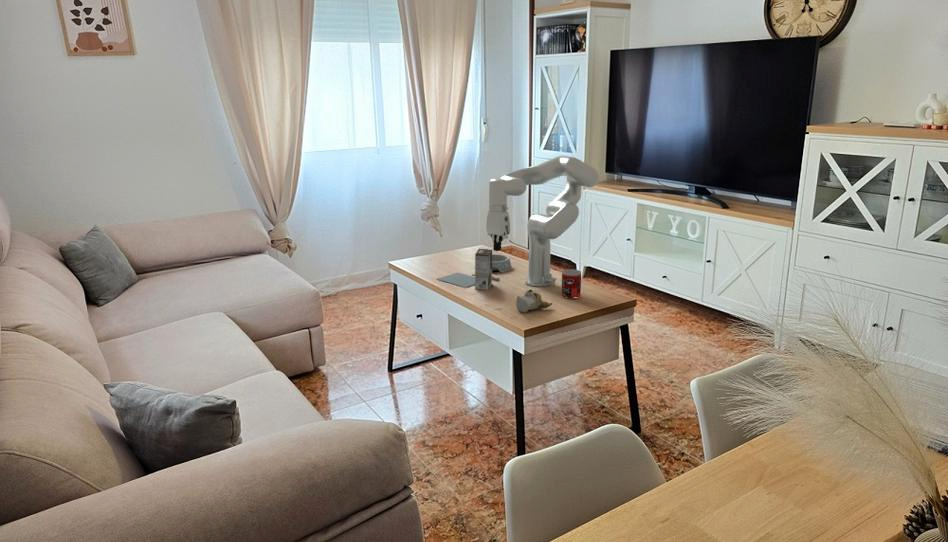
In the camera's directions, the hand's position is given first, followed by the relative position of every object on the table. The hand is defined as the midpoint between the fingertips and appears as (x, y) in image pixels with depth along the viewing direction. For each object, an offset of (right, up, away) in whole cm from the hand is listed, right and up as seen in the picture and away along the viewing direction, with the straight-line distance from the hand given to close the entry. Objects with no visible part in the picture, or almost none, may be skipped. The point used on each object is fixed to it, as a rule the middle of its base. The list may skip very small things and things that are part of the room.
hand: (497, 250), depth 266 cm
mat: (-16, -13, +21) cm, 29 cm away
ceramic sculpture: (+13, -25, -18) cm, 33 cm away
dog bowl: (0, -8, +41) cm, 42 cm away
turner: (-5, -12, +25) cm, 28 cm away
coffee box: (-6, -16, +12) cm, 20 cm away
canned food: (+31, -20, -3) cm, 37 cm away
